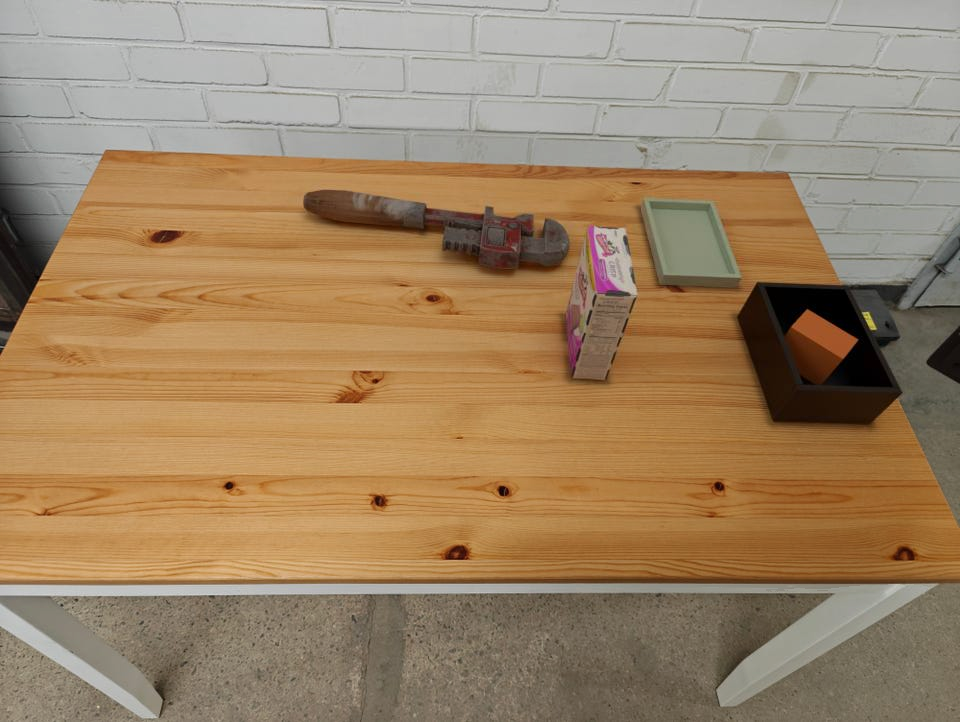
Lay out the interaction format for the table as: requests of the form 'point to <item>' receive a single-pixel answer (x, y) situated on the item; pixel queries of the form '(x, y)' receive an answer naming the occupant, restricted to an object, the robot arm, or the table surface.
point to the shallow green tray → (689, 243)
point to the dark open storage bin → (790, 397)
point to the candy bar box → (600, 302)
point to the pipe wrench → (494, 241)
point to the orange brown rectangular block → (817, 346)
